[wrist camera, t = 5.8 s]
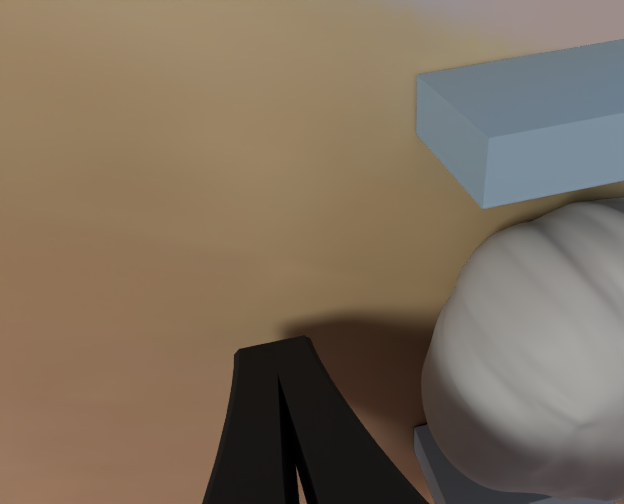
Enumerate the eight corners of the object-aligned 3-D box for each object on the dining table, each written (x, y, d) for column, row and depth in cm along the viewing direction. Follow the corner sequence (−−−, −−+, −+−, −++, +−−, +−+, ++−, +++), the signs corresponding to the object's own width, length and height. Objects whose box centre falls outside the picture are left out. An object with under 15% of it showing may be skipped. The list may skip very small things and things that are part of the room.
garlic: (478, 403, 14) (606, 632, 10) (335, 308, 11) (428, 573, 7) (689, 247, 12) (957, 446, 8) (582, 88, 9) (907, 266, 5)
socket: (413, 450, 14) (451, 545, 12) (416, 75, 9) (489, 138, 7) (657, 392, 15) (730, 472, 13) (814, 5, 9) (990, 44, 7)
